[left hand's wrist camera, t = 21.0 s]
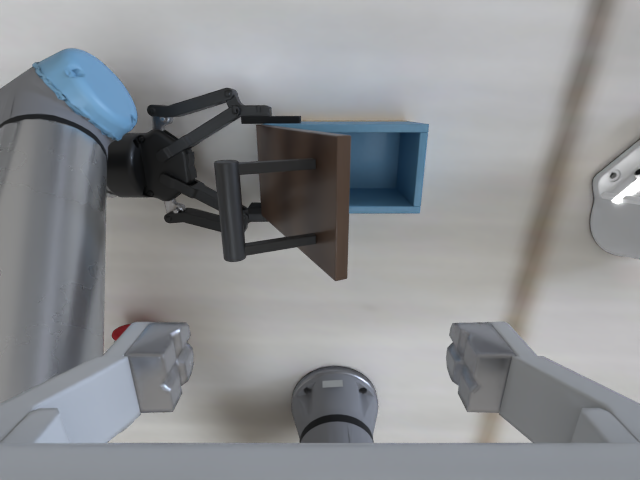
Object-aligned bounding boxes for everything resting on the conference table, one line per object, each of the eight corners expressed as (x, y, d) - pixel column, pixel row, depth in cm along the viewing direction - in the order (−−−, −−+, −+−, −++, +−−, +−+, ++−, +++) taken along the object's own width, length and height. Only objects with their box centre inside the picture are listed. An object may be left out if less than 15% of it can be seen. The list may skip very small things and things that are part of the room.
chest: (406, 120, 47) (429, 124, 37) (400, 192, 51) (420, 213, 41) (273, 121, 47) (261, 124, 37) (277, 193, 51) (266, 213, 41)
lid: (351, 135, 22) (221, 139, 19) (347, 278, 25) (237, 303, 22) (265, 124, 37) (186, 125, 34) (269, 214, 40) (198, 223, 37)
